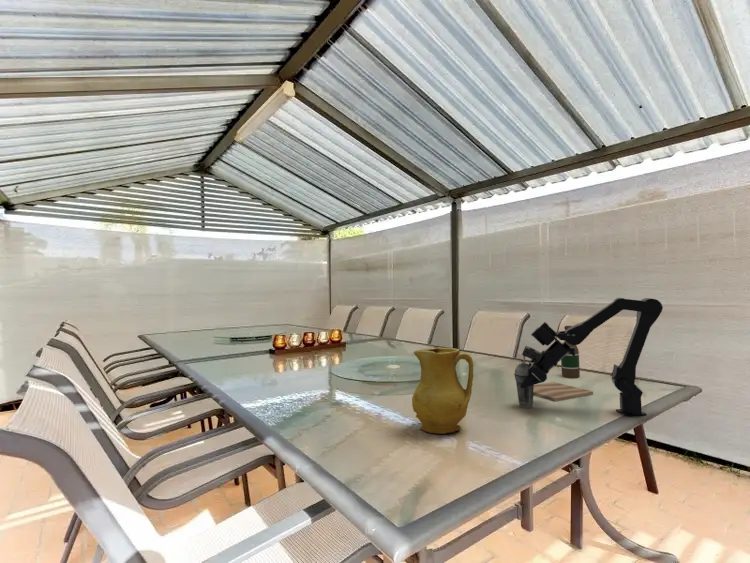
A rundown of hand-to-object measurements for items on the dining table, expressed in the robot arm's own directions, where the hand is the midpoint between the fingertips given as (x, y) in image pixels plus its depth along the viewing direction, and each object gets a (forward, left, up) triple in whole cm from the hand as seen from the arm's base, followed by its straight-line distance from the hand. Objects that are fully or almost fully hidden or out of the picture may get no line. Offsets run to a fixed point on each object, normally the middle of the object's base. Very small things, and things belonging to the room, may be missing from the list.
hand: (521, 384), depth 153 cm
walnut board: (+17, -20, -8) cm, 27 cm away
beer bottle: (+43, -41, -8) cm, 60 cm away
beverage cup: (0, -1, -8) cm, 8 cm away
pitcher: (-19, +34, -8) cm, 40 cm away
